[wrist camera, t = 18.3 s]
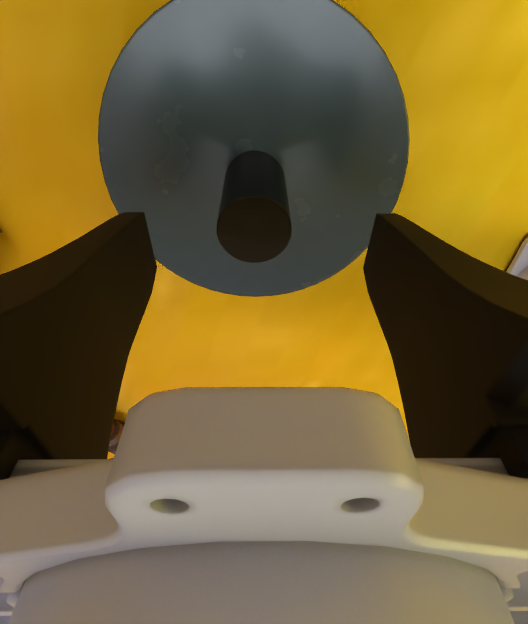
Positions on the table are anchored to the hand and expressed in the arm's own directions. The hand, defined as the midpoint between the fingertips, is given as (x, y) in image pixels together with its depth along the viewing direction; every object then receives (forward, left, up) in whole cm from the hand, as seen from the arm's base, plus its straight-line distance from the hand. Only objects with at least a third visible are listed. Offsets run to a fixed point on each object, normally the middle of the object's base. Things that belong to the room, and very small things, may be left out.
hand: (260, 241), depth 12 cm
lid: (0, 0, -5) cm, 5 cm away
